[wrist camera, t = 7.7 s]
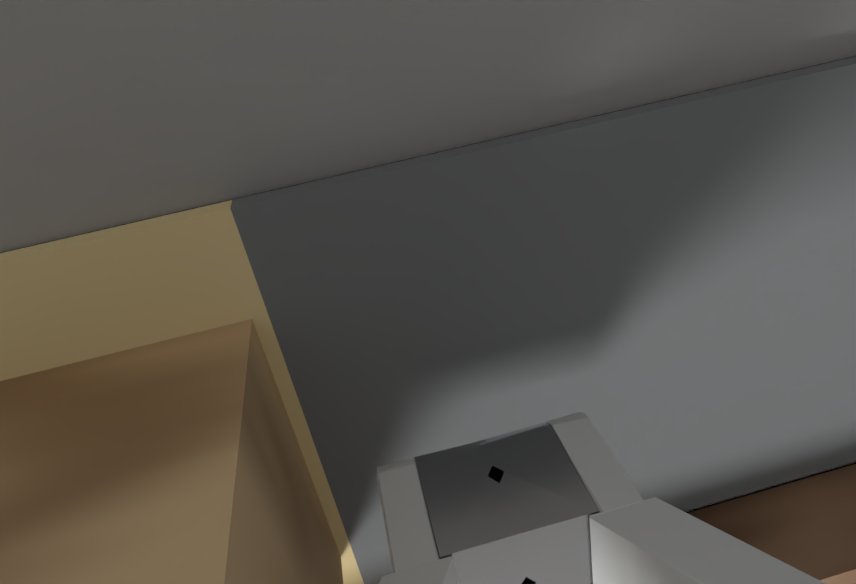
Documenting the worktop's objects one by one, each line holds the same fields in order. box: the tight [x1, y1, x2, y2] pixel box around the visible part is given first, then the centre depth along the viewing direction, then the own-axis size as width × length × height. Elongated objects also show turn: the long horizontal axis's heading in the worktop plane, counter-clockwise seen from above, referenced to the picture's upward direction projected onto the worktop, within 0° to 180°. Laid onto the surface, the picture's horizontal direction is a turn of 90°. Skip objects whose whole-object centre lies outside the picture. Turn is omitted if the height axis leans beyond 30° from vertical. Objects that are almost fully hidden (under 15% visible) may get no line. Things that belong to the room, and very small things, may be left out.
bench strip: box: [0, 57, 856, 584], centre depth 10 cm, size 23×8×1 cm, turn 100°
